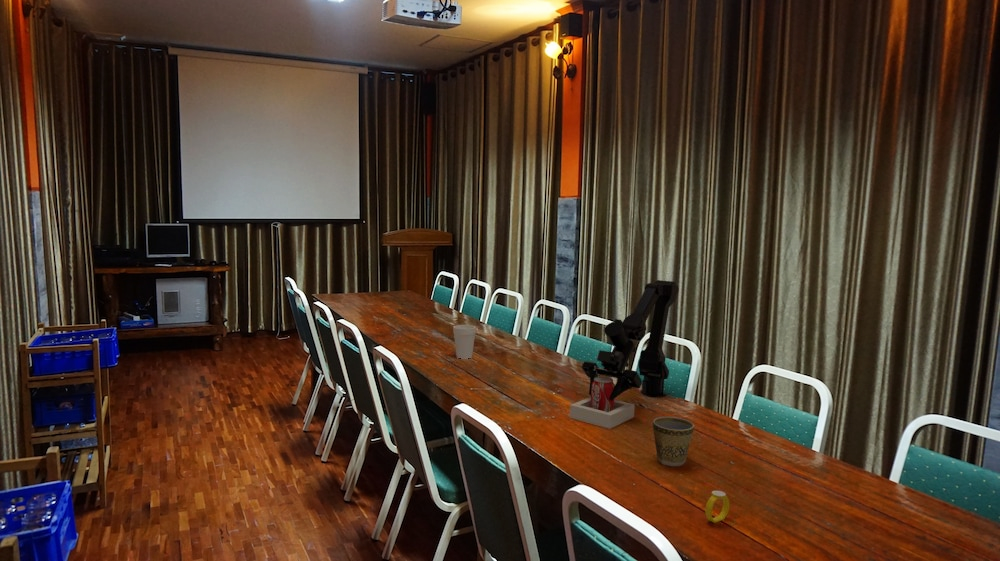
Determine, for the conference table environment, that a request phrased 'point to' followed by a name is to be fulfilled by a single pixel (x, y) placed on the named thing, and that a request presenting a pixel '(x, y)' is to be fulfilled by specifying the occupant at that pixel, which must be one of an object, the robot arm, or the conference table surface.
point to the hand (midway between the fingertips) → (600, 397)
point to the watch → (711, 502)
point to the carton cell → (602, 413)
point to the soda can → (602, 394)
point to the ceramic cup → (672, 439)
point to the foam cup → (464, 340)
